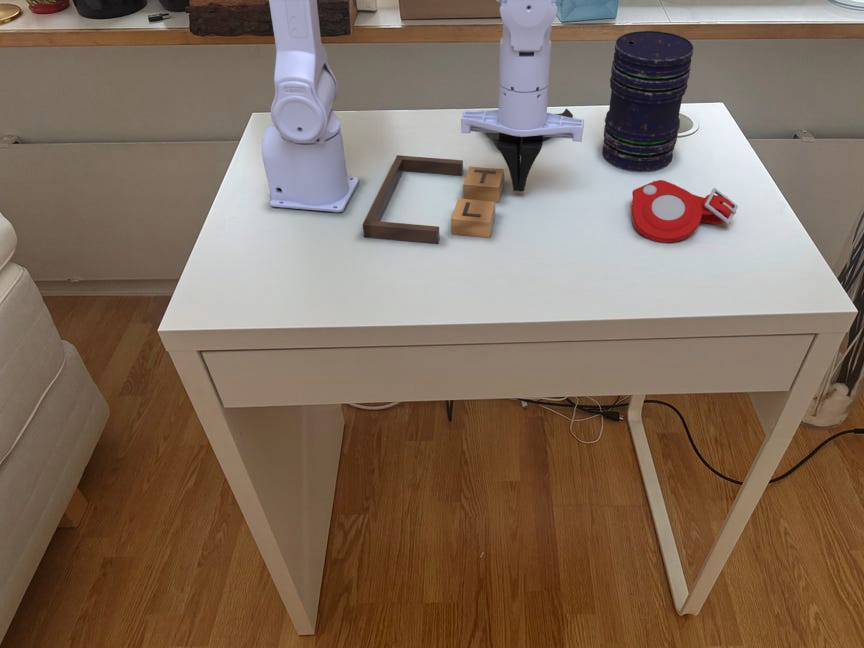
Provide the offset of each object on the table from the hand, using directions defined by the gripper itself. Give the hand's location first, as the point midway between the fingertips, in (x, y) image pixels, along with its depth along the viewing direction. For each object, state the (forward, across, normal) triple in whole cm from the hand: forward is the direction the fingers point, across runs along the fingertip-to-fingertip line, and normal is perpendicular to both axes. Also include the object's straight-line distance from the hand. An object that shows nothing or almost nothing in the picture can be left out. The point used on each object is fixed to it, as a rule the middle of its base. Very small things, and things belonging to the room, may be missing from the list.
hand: (519, 187), depth 94 cm
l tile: (+1, +5, +8) cm, 9 cm away
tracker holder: (+1, -20, +4) cm, 20 cm away
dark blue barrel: (+1, -15, -13) cm, 20 cm away
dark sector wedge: (+1, +1, -17) cm, 17 cm away
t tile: (+1, +5, 0) cm, 5 cm away
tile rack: (+1, +13, +4) cm, 13 cm away
